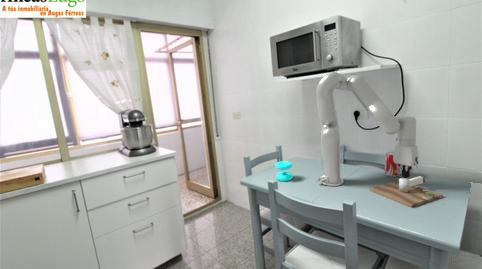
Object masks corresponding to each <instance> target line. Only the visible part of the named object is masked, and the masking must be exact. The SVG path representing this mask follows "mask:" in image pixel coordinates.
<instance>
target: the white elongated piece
mask: <svg viewBox="0 0 482 269" xmlns="http://www.w3.org/2000/svg"><path fill="white" fill-rule="evenodd" d="M398 180H399V191H402V192H409V187H411V186H414V185H415V186H419V185H420V184H424V183H426V182H425V180H426V176H424V175H419V176H415V177H413V178H403V177H400V178H399V179H398Z"/></svg>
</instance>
